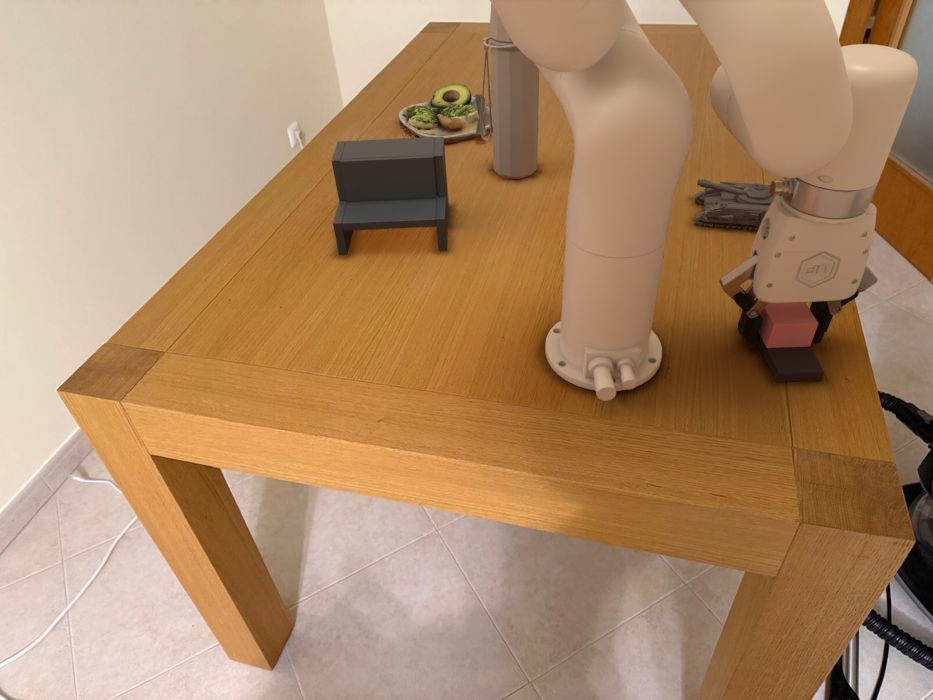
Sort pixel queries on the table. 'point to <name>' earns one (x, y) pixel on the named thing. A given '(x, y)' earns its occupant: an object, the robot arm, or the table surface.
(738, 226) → the tank toy
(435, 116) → the salad plate
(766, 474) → the table surface
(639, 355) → the robot arm
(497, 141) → the water bottle
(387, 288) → the table surface
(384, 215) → the bench
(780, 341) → the pink cube on slab
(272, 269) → the table surface
